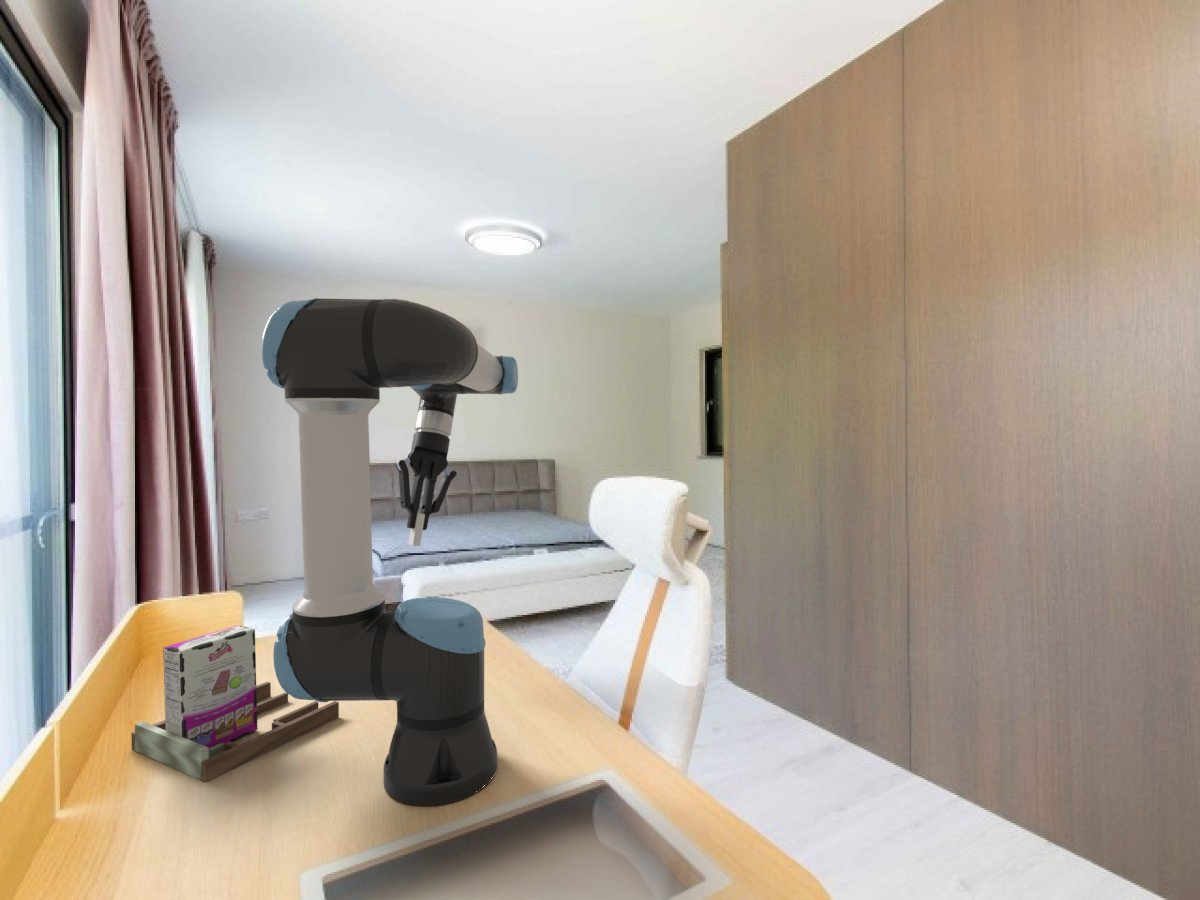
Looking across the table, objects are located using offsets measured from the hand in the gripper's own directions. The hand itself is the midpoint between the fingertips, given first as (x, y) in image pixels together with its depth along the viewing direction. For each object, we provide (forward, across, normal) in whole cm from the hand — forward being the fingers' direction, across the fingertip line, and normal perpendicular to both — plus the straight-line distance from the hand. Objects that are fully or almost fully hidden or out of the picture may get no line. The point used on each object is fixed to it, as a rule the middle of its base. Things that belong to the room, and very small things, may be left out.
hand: (414, 545), depth 119 cm
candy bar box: (+34, +29, +8) cm, 45 cm away
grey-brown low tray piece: (+32, +25, +6) cm, 41 cm away
